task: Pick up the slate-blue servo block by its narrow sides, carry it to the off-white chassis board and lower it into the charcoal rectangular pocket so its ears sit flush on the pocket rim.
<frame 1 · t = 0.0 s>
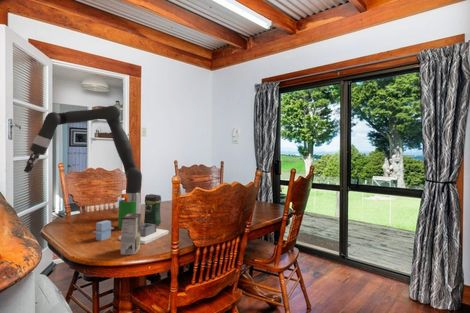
hand: (27, 171, 153), 31 cm above the table, tool tilted 20°, fingers open, 8 cm apart
chassis board: (144, 236, 144), on the table
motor: (126, 227, 159), on the table
servo: (103, 238, 138), on the table
coffee jar: (152, 224, 168), on the table
coffee box: (130, 251, 123), on the table
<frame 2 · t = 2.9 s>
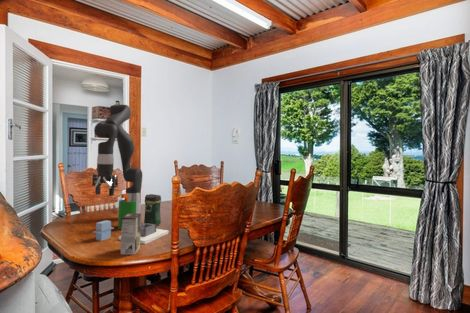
hand: (104, 195, 138), 22 cm above the table, tool pointing down, fingers open, 8 cm apart
nothing on the table moved.
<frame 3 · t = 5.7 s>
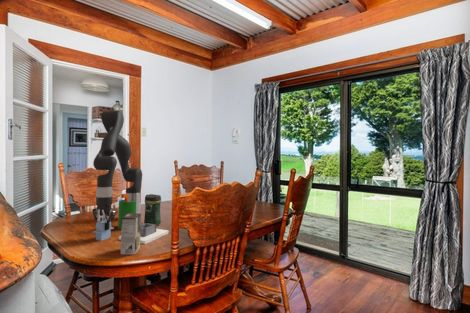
hand: (103, 229, 138), 5 cm above the table, tool pointing down, fingers closed on servo, 3 cm apart
servo: (103, 238, 138), on the table, touching gripper
everything else where it was.
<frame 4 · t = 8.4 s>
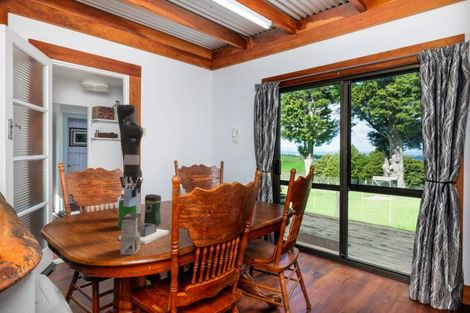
hand: (130, 196, 142), 21 cm above the table, tool pointing down, fingers closed on servo, 3 cm apart
servo: (130, 205, 142), point 16 cm above the table, touching gripper
everything else where it was.
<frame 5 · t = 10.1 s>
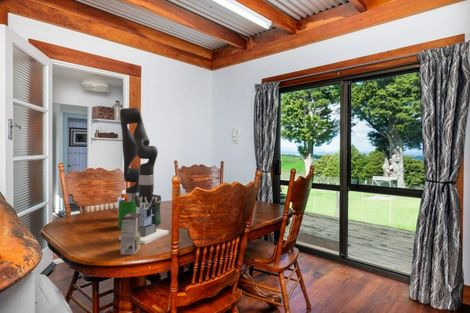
hand: (145, 215, 144), 11 cm above the table, tool pointing down, fingers closed on servo, 3 cm apart
servo: (145, 224, 144), point 6 cm above the table, touching gripper
everything else where it was.
when the fingers open (8 cm above the table, at t = 11.4 s): servo drops 1 cm, resting on chassis board.
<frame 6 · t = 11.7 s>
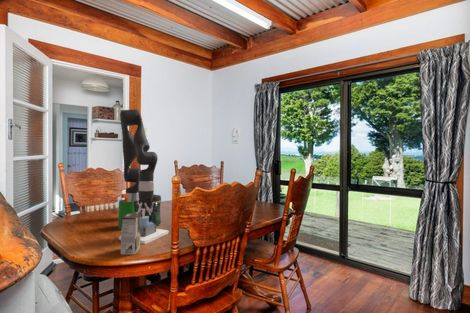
hand: (145, 221, 144), 8 cm above the table, tool pointing down, fingers open, 6 cm apart
servo: (144, 233, 144), point 1 cm above the table, touching chassis board
everything else where it was.
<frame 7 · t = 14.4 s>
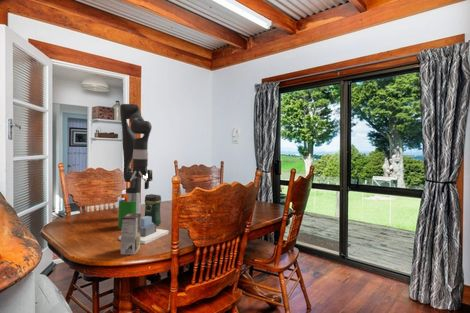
hand: (139, 188, 146), 25 cm above the table, tool pointing down, fingers open, 8 cm apart
nothing on the table moved.
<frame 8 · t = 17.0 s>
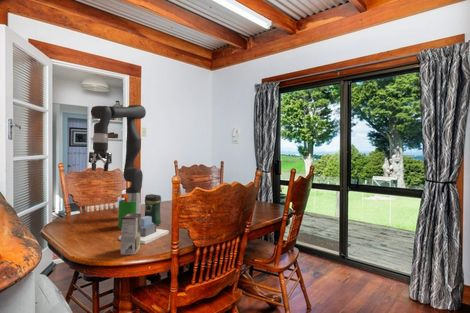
hand: (99, 170, 152), 33 cm above the table, tool pointing down, fingers open, 8 cm apart
nothing on the table moved.
at the end: servo 0.1 cm off-centre on the chassis board, point 1.5 cm above the chassis board's base; servo tilted 0°; the gripper is holding nothing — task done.
